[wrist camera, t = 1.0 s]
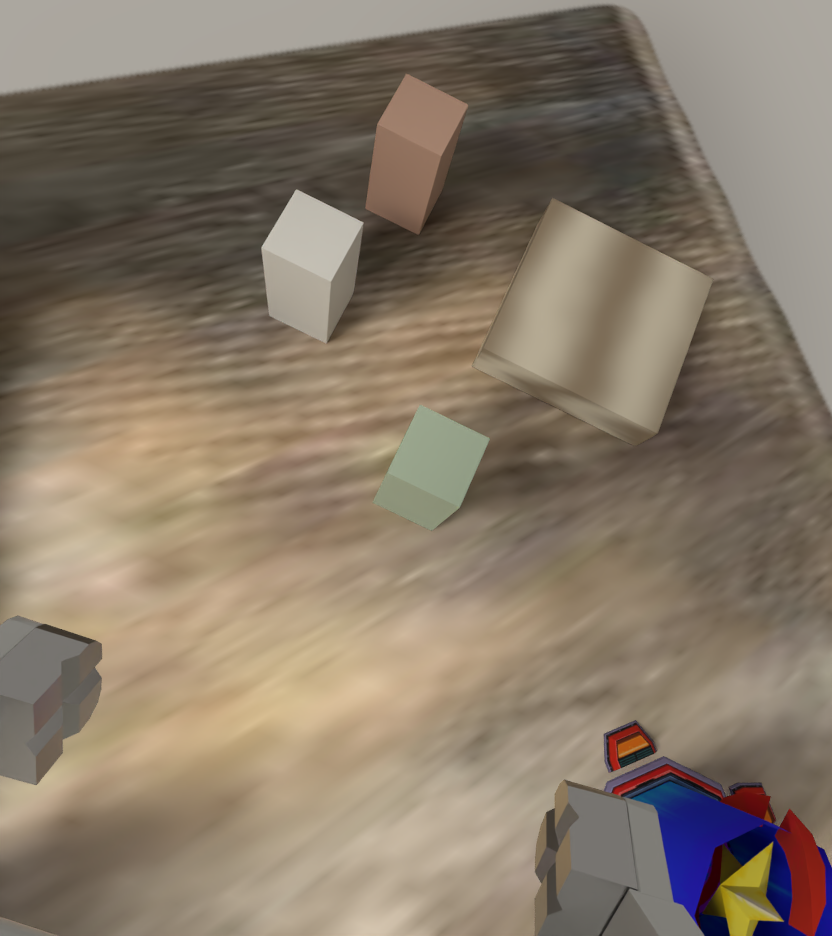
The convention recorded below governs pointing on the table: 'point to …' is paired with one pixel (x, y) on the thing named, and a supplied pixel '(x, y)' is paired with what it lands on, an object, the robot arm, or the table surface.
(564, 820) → the robot arm
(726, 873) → the fantasy tower
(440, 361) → the table surface
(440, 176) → the terracotta pillar
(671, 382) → the birch plinth
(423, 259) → the table surface
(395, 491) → the sage pillar
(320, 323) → the off-white pillar
